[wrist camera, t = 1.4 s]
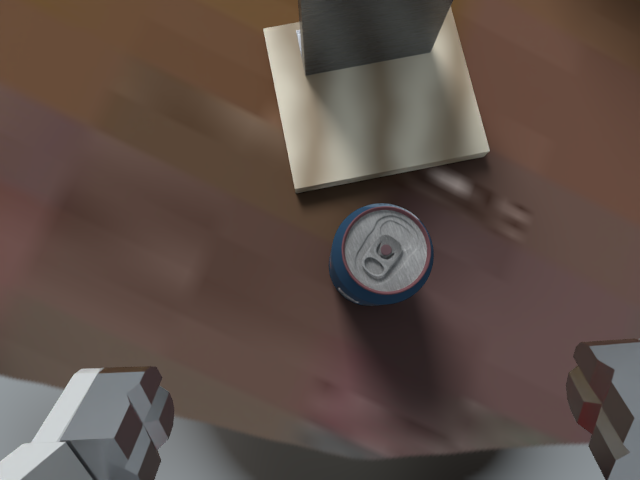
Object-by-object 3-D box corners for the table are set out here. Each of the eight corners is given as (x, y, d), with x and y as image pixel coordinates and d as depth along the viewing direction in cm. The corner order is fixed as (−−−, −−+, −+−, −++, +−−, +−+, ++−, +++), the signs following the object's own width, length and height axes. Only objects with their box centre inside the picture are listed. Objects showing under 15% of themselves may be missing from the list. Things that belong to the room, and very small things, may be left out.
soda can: (358, 214, 41) (374, 176, 29) (420, 259, 40) (462, 239, 28) (313, 274, 40) (310, 259, 28) (375, 321, 40) (399, 327, 28)
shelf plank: (295, 193, 41) (295, 189, 40) (265, 38, 44) (263, 28, 42) (483, 156, 42) (489, 151, 40) (443, 5, 44) (447, -5, 43)
